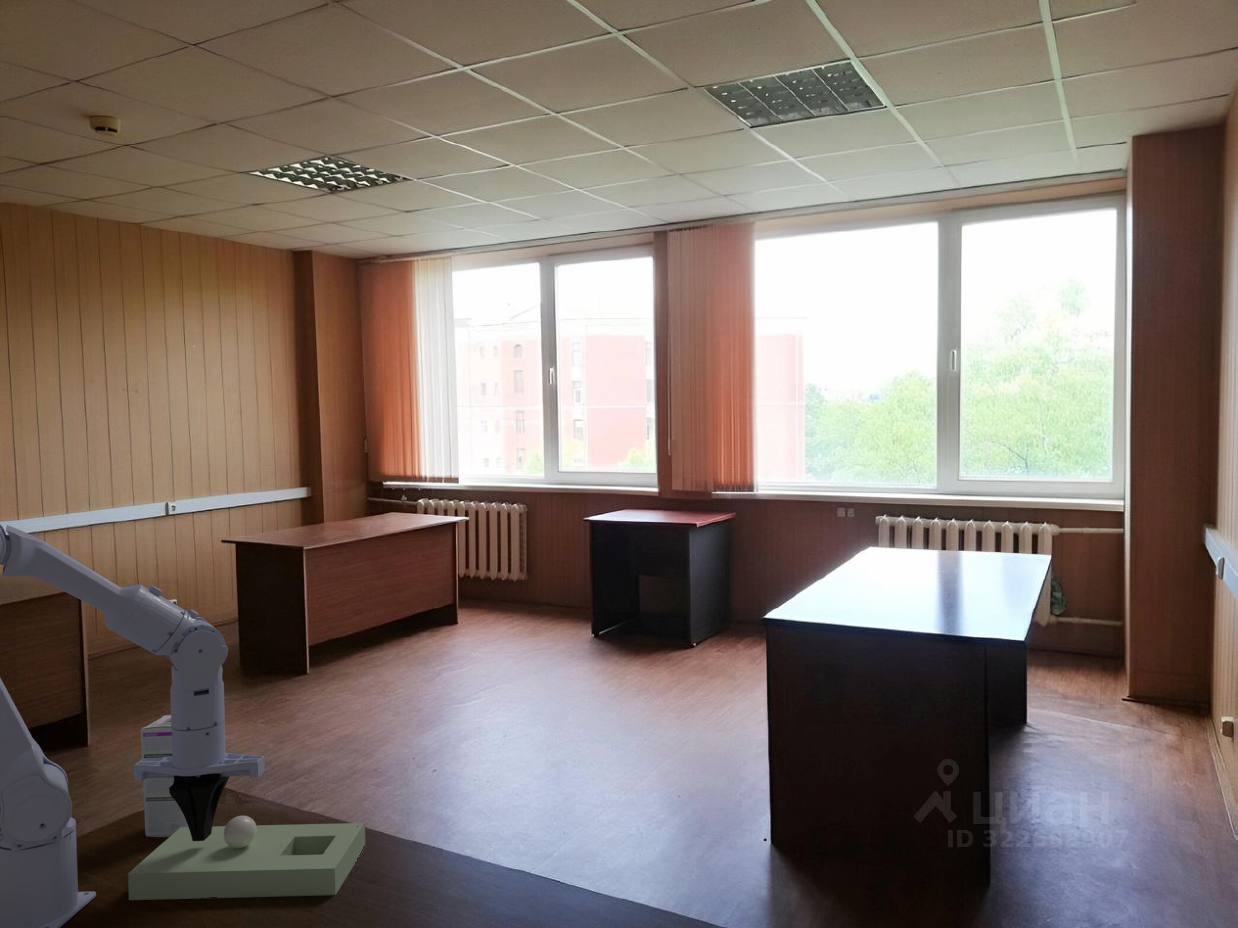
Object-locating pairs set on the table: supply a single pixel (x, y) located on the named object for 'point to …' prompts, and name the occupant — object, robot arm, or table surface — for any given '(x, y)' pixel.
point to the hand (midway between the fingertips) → (201, 837)
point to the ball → (240, 832)
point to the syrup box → (159, 783)
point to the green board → (250, 863)
